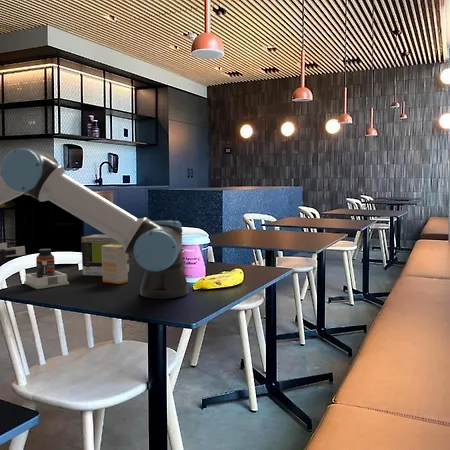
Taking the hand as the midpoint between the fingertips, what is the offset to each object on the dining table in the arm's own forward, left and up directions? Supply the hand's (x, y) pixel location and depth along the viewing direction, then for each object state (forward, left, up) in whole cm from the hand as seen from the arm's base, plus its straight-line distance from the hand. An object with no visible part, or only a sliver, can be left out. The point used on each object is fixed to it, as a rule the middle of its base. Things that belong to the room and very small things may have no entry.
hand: (15, 248), depth 164 cm
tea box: (+3, -34, -14) cm, 37 cm away
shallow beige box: (+1, -10, -13) cm, 17 cm away
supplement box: (-13, -29, -14) cm, 35 cm away
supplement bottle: (+1, -10, -13) cm, 16 cm away
